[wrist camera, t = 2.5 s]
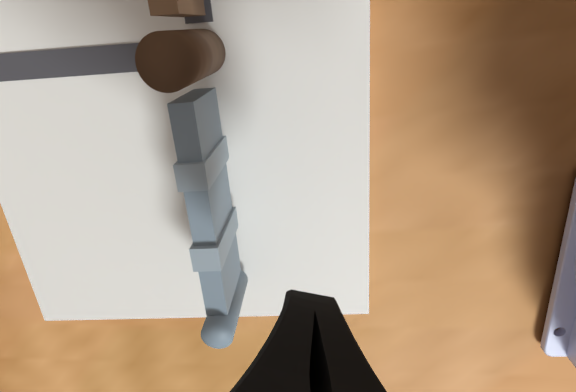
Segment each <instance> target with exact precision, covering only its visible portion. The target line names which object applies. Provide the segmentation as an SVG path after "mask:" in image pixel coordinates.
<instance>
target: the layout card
mask: <svg viewBox="0 0 576 392" xmlns="http://www.w3.org/2000/svg"><path fill="white" fill-rule="evenodd" d="M204 7H205V14H206V15H204V16H192V17H165V16H150V11H149V6H148V0H0V203H1V206H2V208H3V211H4V214H5V216H6V219H7V222H8V224H9V227H10V230H11V232H12V235H13V238H14V240H15V243H16V245H17V248H18V251H19V253H20V256H21V259H22V261H23V264H24V267H25V269H26V272H27V275H28V277H29V280H30V282H31V285H32V288H33V290H34V293H35V296H36V298H37V301H38V304H39V306H40V309H41V312H42V314H43V317H44V319H45V321H53V320H100V319H147V318H194V317H207V316H206V310H205V305H204V300H203V294H202V289H201V284H200V278H199V273H198V272H193V267H192V262H191V257H190V252H189V249H190V247H191V245H192V243H193V241H192V235H191V230H190V225H189V219H188V214H187V209H186V203H185V198H184V193H183V192H178V189H177V184H176V179H175V174H174V169H173V165H174V164H175V163H176V162H177V155H176V150H175V145H174V139H173V134H172V129H171V123H170V118H169V113H168V107H167V104H168V103H169V102H171V101H173V100H175V99H177V98H179V97H180V96H182V95H184V94H186V93H188V92H189V91H191V90H193V89H200V88H215V87H216V93H217V101H218V108H219V115H220V122H221V129H222V136H226V138H227V145H228V153H229V159H228V161H227V162H226V165H227V172H228V180H229V187H230V194H231V201H232V207H236V212H237V219H238V229H237V231H236V237H237V244H238V252H239V259H240V266H241V270H242V271H244V272H245V273H246V275H247V277H248V283H247V287H246V290H245V294H244V298H243V302H242V306H241V310H240V314H239V317H241V316H279V315H280V313H281V311H282V308H283V304H284V299H285V295H286V292H287V291H289V290H291V289H292V290H297V291H303V292H308V293H313V294H318V295H324V296H329V297H334V298H335V300H336V301H337V303H338V306H339V308H340V310H341V312H342V314H369V132H370V0H204ZM185 29H208V30H211V31H213V32H214V33H216V34H217V35H218V36H219V37H220V39H221V40H222V42H223V44H224V47H225V52H226V55H225V61H224V63H223V65H222V67H221V68H220V69H219V70H218V71H217V72H215V73H213V74H211V75H209V76H207V77H205V78H203V79H201V80H199V81H197V82H195V83H193V84H191V85H189V86H187V87H185V88H183V89H181V90H179V91H177V92H173V93H162V92H159V91H156V90H154V89H152V88H151V87H149V86H148V85H147V84H146V83H145V82H144V81H143V80H142V78H141V77H140V75H139V73H138V71H137V68H136V64H135V52H136V48H137V46H138V44H139V42H140V41H141V39H142V38H143V37H144V36H146V35H147V34H149V33H151V32H154V31H165V30H185Z"/></svg>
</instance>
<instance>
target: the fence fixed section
mask: <svg viewBox="0 0 576 392" xmlns="http://www.w3.org/2000/svg"><path fill="white" fill-rule="evenodd" d="M148 6H149V11H150V16H165V17H192V16H204V15H206V14H205V7H204V0H148ZM225 55H226V52H225V47H224V44H223V42H222V40H221V39H220V37H219V36H218V35H217V34H216V33H214V32H213V31H211V30H208V29H185V30H165V31H154V32H151V33H149V34H147V35H146V36H144V37H143V38H142V39H141V41H140V42H139V44H138V46H137V48H136V52H135V64H136V68H137V71H138V73H139V75H140V77H141V78H142V80H143V81H144V82H145V83H146V84H147V85H148V86H149V87H151V88H152V89H154V90H156V91H159V92H162V93H173V92H177V91H179V90H181V89H183V88H185V87H187V86H189V85H191V84H193V83H195V82H197V81H199V80H201V79H203V78H205V77H207V76H209V75H211V74H213V73H215V72H217V71H218V70H219V69H220V68H221V67H222V65H223V63H224V61H225Z"/></svg>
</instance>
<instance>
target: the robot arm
mask: <svg viewBox="0 0 576 392" xmlns="http://www.w3.org/2000/svg"><path fill="white" fill-rule="evenodd" d="M559 327H560V328H559ZM557 328H559V329H558V330H555V329H557ZM541 348H542V350H543V351H544V352H545V354H546V355H548V356H553V357H559V356H567V357H568V358H569V360H570V361H571V362H572V364H573V365H574V366H575V368H576V178H575V183H574V187H573V192H572V197H571V202H570V206H569V211H568V216H567V221H566V225H565V230H564V235H563V240H562V244H561V249H560V254H559V259H558V263H557V268H556V273H555V278H554V282H553V287H552V292H551V296H550V301H549V306H548V311H547V315H546V320H545V325H544V330H543V334H542V339H541ZM230 392H387V391H386V390H385V388H384V387H383V385H382V384H381V382H380V381H379V379H378V378H377V376H376V375H375V373H374V371H373V370H372V368H371V366H370V365H369V363H368V361H367V360H366V358H365V356H364V355H363V353H362V351H361V349H360V347H359V346H358V344H357V342H356V340H355V338H354V336H353V335H352V333H351V331H350V329H349V327H348V325H347V323H346V321H345V319H344V317H343V314H342V312H341V310H340V308H339V306H338V303H337V301H336V300H335V298H334V297H329V296H324V295H318V294H313V293H308V292H303V291H297V290H292V289H291V290H289V291H287V292H286V295H285V299H284V304H283V308H282V311H281V313H280V315H279V318H278V320H277V322H276V324H275V326H274V328H273V329H272V331H271V333H270V335H269V337H268V339H267V340H266V342H265V344H264V345H263V347H262V348H261V350H260V351H259V353H258V355H257V356H256V358H255V359H254V361H253V362H252V364H251V365H250V366H249V368H248V369H247V370H246V372H245V373H244V374H243V376H242V377H241V378H240V380H239V381H238V382H237V383H236V385H235V386H234V387H233V388H232V390H231V391H230Z"/></svg>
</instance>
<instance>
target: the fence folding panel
mask: <svg viewBox="0 0 576 392" xmlns="http://www.w3.org/2000/svg"><path fill="white" fill-rule="evenodd" d="M167 107H168V113H169V118H170V123H171V129H172V134H173V139H174V145H175V150H176V155H177V162H176V163H175V164H174V165H173V169H174V174H175V179H176V184H177V189H178V192H183V193H184V198H185V203H186V209H187V214H188V219H189V225H190V230H191V235H192V241H193V243H192V245H191V247H190V249H189V252H190V257H191V262H192V267H193V272H198V273H199V278H200V284H201V289H202V294H203V300H204V305H205V310H206V316H207V317H206V320H205V322H204V325H203V328H202V330H201V338H202V340H203V341H204V343H205V344H207V345H208V346H210V347H213V348H218V349H220V348H225V347H227V346H229V345H230V344H231V343H232V341H233V337H234V333H235V330H236V326H237V322H238V318H239V314H240V310H241V306H242V302H243V298H244V294H245V290H246V287H247V283H248V277H247V275H246V273H245V272H244V271H242V270H241V266H240V259H239V252H238V244H237V237H236V231H237V229H238V219H237V212H236V207H232V201H231V194H230V187H229V180H228V172H227V165H226V162H227V161H228V159H229V153H228V145H227V138H226V136H222V129H221V122H220V115H219V108H218V101H217V93H216V87H215V88H200V89H193V90H191V91H189V92H188V93H186V94H184V95H182V96H180V97H179V98H177V99H175V100H173V101H171V102H169V103H168V104H167Z"/></svg>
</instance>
